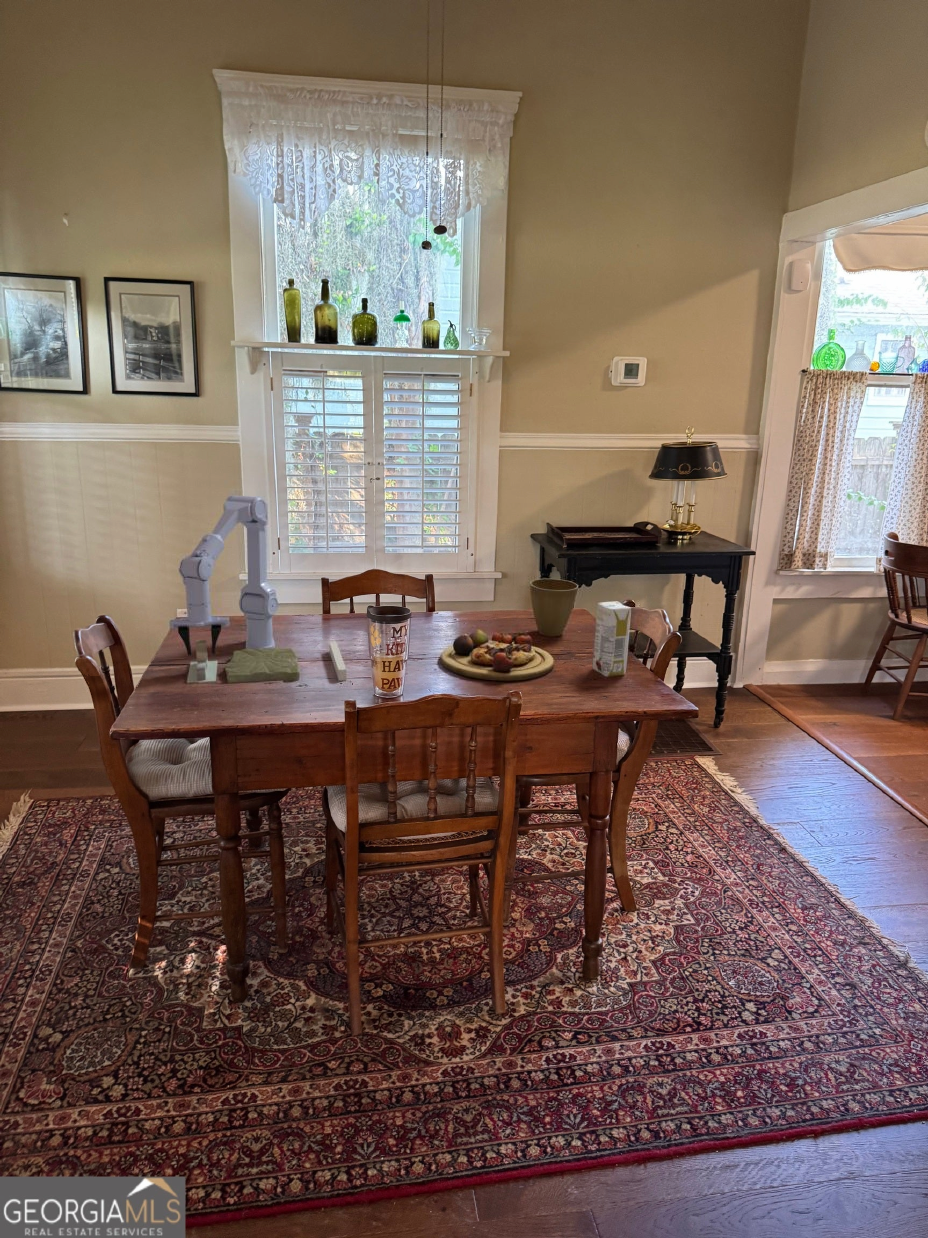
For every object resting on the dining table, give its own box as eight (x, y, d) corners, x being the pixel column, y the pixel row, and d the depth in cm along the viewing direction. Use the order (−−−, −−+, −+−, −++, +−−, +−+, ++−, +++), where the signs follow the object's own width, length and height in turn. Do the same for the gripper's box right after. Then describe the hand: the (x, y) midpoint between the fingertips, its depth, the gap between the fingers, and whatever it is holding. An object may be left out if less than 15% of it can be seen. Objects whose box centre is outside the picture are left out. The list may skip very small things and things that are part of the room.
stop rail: (329, 651, 232) (329, 641, 231) (336, 651, 232) (336, 641, 232) (338, 680, 210) (338, 669, 209) (346, 680, 210) (346, 669, 209)
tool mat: (190, 663, 219) (190, 662, 219) (217, 662, 221) (217, 660, 220) (186, 684, 204) (186, 682, 204) (215, 682, 206) (215, 680, 206)
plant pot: (522, 637, 251) (525, 586, 247) (533, 624, 265) (535, 576, 261) (570, 642, 247) (573, 591, 243) (578, 629, 261) (581, 581, 256)
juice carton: (605, 678, 217) (610, 610, 212) (588, 668, 225) (593, 601, 220) (629, 675, 220) (635, 608, 215) (612, 665, 228) (617, 600, 222)
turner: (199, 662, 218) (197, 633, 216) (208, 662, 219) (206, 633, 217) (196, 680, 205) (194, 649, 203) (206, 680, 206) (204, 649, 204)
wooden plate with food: (547, 688, 209) (550, 658, 207) (427, 675, 215) (429, 646, 213) (558, 653, 240) (560, 626, 238) (453, 643, 246) (454, 616, 244)
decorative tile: (295, 657, 228) (294, 645, 227) (300, 682, 209) (300, 669, 208) (225, 661, 223) (225, 649, 222) (225, 687, 205) (224, 673, 204)
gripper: (166, 608, 202) (170, 659, 205) (227, 605, 205) (230, 656, 209) (169, 600, 208) (173, 651, 212) (228, 598, 212) (230, 648, 215)
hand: (201, 653), depth 211 cm, fingers open, 5 cm apart
